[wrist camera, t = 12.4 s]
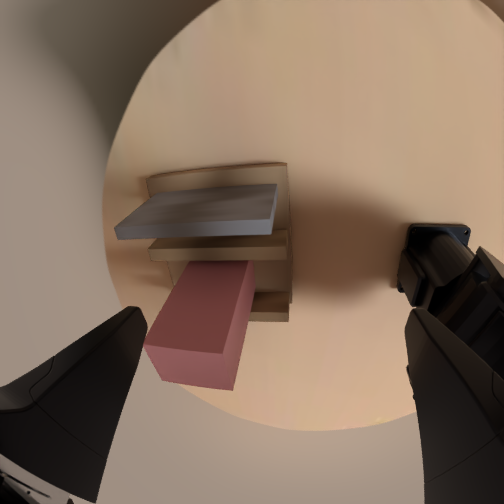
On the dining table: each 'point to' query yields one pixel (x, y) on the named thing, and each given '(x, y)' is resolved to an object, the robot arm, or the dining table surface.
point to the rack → (222, 226)
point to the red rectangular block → (203, 324)
